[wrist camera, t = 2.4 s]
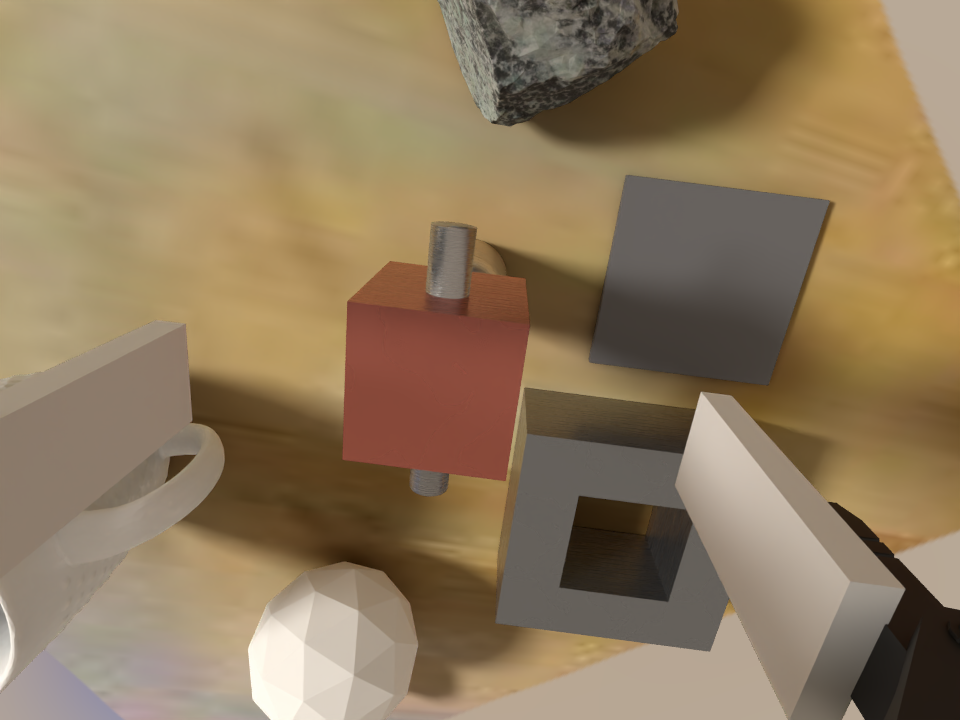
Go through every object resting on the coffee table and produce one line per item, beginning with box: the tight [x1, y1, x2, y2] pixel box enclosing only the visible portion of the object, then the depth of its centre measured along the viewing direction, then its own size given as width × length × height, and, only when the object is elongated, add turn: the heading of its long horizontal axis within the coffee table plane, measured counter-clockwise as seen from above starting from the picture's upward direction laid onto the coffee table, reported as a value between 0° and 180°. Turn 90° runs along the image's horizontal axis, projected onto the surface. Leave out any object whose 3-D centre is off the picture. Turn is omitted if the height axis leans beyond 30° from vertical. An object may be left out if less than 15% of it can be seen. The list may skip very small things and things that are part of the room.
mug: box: [0, 372, 225, 693], centre depth 25 cm, size 15×11×13 cm
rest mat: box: [589, 175, 830, 385], centre depth 27 cm, size 9×9×1 cm
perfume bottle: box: [248, 561, 418, 720], centre depth 31 cm, size 9×9×12 cm
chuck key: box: [342, 222, 530, 496], centre depth 21 cm, size 8×4×14 cm, turn 173°
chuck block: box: [495, 388, 729, 651], centre depth 29 cm, size 11×11×5 cm
